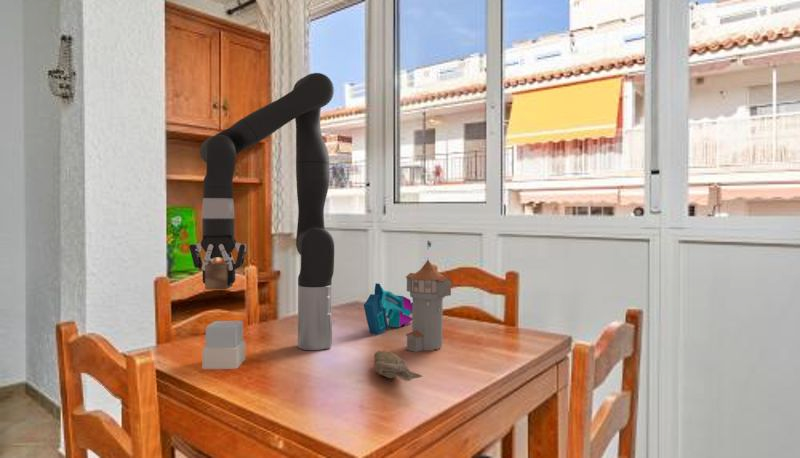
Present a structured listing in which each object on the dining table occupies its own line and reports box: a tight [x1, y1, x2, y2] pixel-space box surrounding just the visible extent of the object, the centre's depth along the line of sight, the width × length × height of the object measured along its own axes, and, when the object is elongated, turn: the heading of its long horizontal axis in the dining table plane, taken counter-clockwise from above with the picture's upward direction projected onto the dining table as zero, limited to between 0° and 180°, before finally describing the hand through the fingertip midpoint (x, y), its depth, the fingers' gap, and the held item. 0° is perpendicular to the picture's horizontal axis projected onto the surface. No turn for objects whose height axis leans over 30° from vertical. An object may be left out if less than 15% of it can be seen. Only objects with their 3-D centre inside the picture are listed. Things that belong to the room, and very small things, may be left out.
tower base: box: [201, 339, 246, 370], centre depth 122 cm, size 8×8×5 cm
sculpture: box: [373, 350, 423, 382], centre depth 111 cm, size 6×25×5 cm, turn 22°
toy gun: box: [363, 283, 413, 336], centre depth 162 cm, size 4×26×15 cm, turn 148°
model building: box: [405, 240, 453, 353], centre depth 140 cm, size 14×12×30 cm
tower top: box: [205, 320, 244, 348], centre depth 123 cm, size 7×7×5 cm
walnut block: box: [204, 262, 233, 291], centre depth 124 cm, size 5×5×6 cm
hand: (219, 284), depth 124 cm, fingers closed on walnut block, 5 cm apart
